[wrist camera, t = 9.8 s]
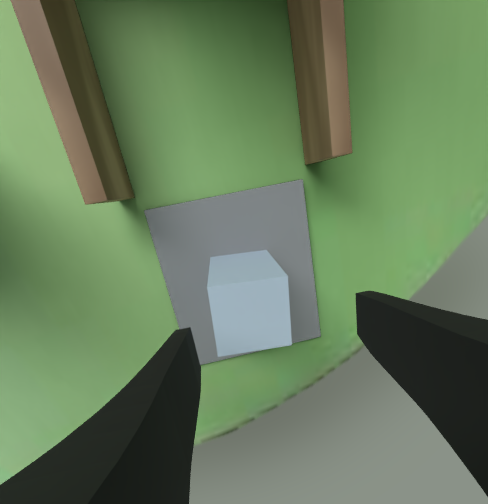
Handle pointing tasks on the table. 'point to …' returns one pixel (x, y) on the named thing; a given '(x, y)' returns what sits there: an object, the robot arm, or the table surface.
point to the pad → (233, 242)
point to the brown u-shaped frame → (97, 115)
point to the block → (248, 303)
